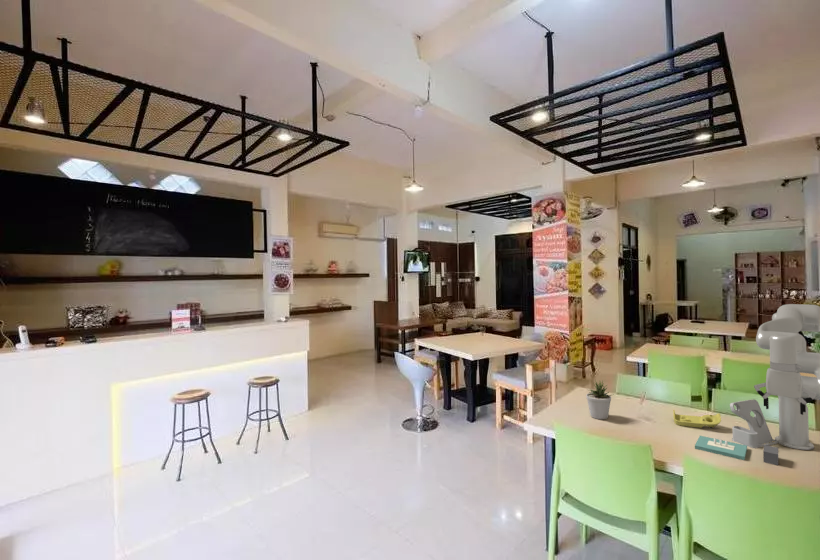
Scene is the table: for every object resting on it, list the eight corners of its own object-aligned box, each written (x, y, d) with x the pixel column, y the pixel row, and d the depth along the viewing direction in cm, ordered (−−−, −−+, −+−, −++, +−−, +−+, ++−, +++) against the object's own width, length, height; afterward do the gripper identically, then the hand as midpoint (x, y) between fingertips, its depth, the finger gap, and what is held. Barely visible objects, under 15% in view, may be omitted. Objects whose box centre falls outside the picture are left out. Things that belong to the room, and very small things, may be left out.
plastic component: (673, 421, 201) (673, 407, 209) (675, 431, 204) (674, 417, 211) (722, 425, 190) (719, 411, 197) (723, 437, 192) (720, 422, 200)
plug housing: (763, 462, 161) (763, 451, 161) (764, 455, 167) (764, 444, 167) (778, 465, 158) (777, 454, 158) (778, 458, 164) (778, 447, 164)
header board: (699, 438, 185) (699, 430, 185) (747, 448, 173) (746, 440, 173) (694, 448, 175) (694, 439, 175) (744, 460, 163) (744, 450, 163)
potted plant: (618, 420, 210) (617, 383, 210) (592, 421, 210) (591, 384, 210) (607, 412, 222) (606, 377, 222) (582, 413, 223) (581, 378, 222)
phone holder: (753, 449, 173) (752, 409, 173) (729, 439, 183) (728, 402, 182) (780, 443, 178) (779, 404, 177) (755, 434, 187) (755, 397, 187)
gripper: (814, 368, 147) (815, 413, 147) (753, 362, 159) (754, 403, 159) (816, 372, 141) (817, 418, 141) (752, 365, 153) (753, 408, 153)
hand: (784, 410), depth 150 cm, fingers open, 9 cm apart
